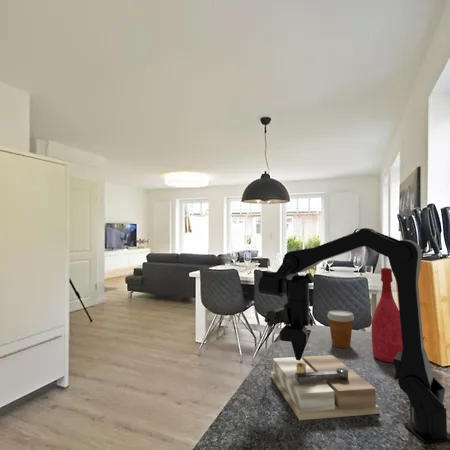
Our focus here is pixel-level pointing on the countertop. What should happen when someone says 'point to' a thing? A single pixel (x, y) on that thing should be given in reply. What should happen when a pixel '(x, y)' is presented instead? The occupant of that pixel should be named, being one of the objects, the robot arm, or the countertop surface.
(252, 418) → the countertop surface
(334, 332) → the disposable coffee cup
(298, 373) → the latch bar
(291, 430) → the countertop surface
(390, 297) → the wine bottle
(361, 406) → the door and jamb
